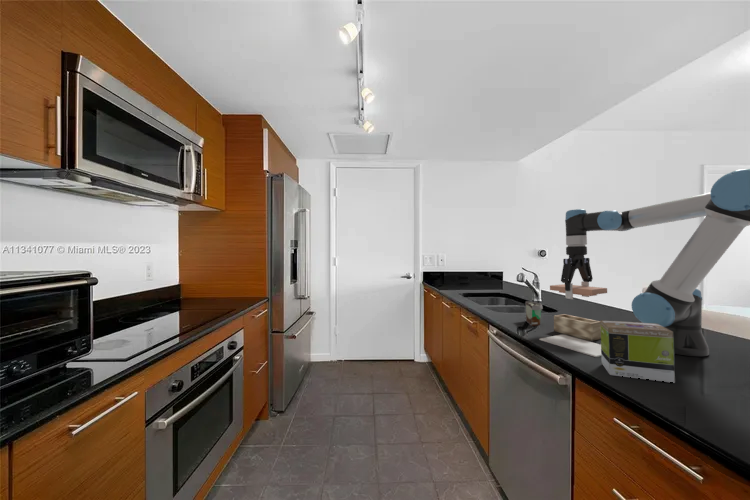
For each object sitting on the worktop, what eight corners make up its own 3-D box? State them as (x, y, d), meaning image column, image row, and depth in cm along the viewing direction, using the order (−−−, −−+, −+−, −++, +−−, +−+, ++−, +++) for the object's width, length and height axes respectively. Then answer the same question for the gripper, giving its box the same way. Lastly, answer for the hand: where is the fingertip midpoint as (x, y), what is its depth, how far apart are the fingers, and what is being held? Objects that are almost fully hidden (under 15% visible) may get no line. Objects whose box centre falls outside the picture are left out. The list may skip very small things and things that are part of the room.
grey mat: (620, 351, 112) (620, 349, 112) (596, 357, 106) (596, 355, 106) (562, 335, 132) (562, 334, 132) (539, 339, 126) (539, 338, 126)
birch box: (601, 338, 127) (601, 321, 126) (591, 341, 124) (591, 323, 124) (564, 329, 141) (564, 314, 141) (553, 331, 138) (553, 315, 138)
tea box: (660, 371, 94) (660, 323, 94) (675, 384, 85) (675, 331, 85) (600, 363, 100) (600, 318, 100) (608, 375, 91) (608, 326, 91)
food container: (546, 327, 145) (546, 306, 145) (532, 326, 147) (532, 305, 147) (538, 320, 158) (538, 301, 157) (525, 320, 159) (525, 301, 159)
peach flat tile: (607, 295, 126) (607, 288, 126) (591, 297, 122) (591, 289, 122) (564, 290, 142) (564, 284, 142) (549, 292, 138) (549, 285, 138)
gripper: (584, 245, 140) (585, 294, 140) (550, 246, 131) (551, 298, 131) (601, 245, 133) (603, 296, 133) (567, 245, 124) (568, 301, 124)
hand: (577, 297), depth 132 cm, fingers closed on peach flat tile, 10 cm apart
